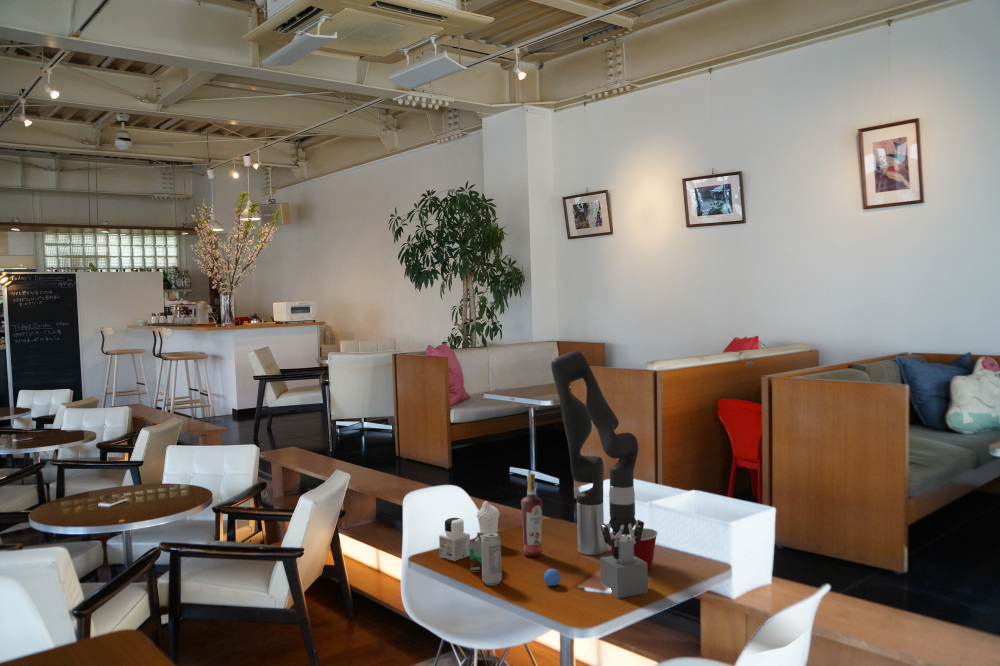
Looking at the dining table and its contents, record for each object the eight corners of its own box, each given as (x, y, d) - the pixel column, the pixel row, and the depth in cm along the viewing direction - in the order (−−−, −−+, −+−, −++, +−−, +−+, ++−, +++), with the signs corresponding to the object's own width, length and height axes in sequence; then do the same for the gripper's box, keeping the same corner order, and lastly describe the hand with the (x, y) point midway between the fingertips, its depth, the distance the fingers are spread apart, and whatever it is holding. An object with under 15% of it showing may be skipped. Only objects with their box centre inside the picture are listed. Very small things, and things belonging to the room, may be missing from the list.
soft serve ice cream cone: (498, 540, 270) (497, 497, 269) (502, 547, 261) (501, 503, 261) (475, 542, 268) (474, 499, 268) (479, 549, 260) (478, 504, 260)
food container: (488, 574, 234) (487, 543, 234) (469, 573, 235) (468, 543, 235) (496, 562, 246) (495, 532, 246) (478, 561, 247) (477, 531, 247)
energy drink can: (495, 577, 231) (493, 530, 231) (505, 583, 226) (504, 535, 226) (478, 581, 228) (477, 534, 228) (488, 587, 223) (487, 538, 222)
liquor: (529, 559, 247) (527, 477, 247) (518, 554, 254) (516, 473, 253) (547, 555, 251) (545, 474, 251) (535, 550, 258) (533, 471, 257)
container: (439, 557, 253) (438, 519, 253) (455, 551, 258) (454, 514, 258) (454, 561, 248) (453, 523, 247) (470, 555, 253) (469, 518, 253)
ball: (556, 581, 226) (555, 565, 226) (563, 586, 222) (563, 570, 222) (541, 583, 225) (541, 567, 225) (548, 589, 220) (547, 572, 220)
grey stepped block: (630, 581, 225) (629, 533, 225) (648, 592, 215) (647, 542, 215) (600, 586, 221) (599, 537, 221) (617, 598, 212) (616, 547, 212)
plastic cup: (619, 565, 240) (618, 529, 239) (650, 562, 242) (649, 526, 242) (631, 576, 229) (631, 538, 229) (664, 573, 231) (663, 535, 231)
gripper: (636, 495, 224) (637, 550, 224) (594, 500, 219) (596, 556, 219) (649, 500, 217) (650, 557, 217) (607, 505, 212) (608, 564, 212)
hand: (623, 556), depth 218 cm, fingers closed on grey stepped block, 4 cm apart
